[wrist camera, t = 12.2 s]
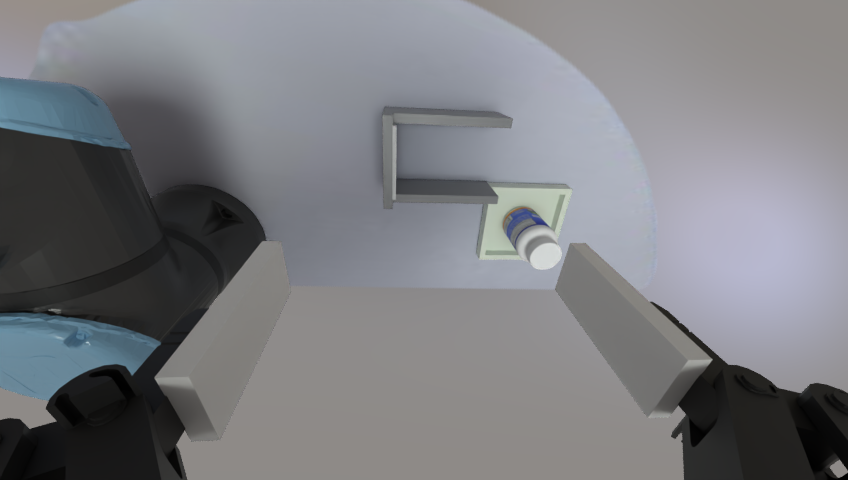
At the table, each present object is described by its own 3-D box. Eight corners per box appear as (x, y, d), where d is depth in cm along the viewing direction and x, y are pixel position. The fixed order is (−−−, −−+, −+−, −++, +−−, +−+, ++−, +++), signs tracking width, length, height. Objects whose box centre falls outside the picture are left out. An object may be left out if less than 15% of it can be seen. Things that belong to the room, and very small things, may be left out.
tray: (476, 252, 48) (479, 259, 46) (487, 182, 43) (491, 187, 41) (545, 253, 49) (551, 259, 48) (565, 184, 44) (572, 189, 42)
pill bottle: (543, 223, 46) (575, 258, 37) (512, 243, 47) (537, 282, 39) (526, 198, 44) (557, 229, 35) (494, 219, 45) (516, 255, 36)
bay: (385, 185, 42) (383, 208, 35) (385, 106, 37) (382, 115, 30) (485, 187, 43) (502, 210, 36) (496, 112, 38) (519, 121, 31)
